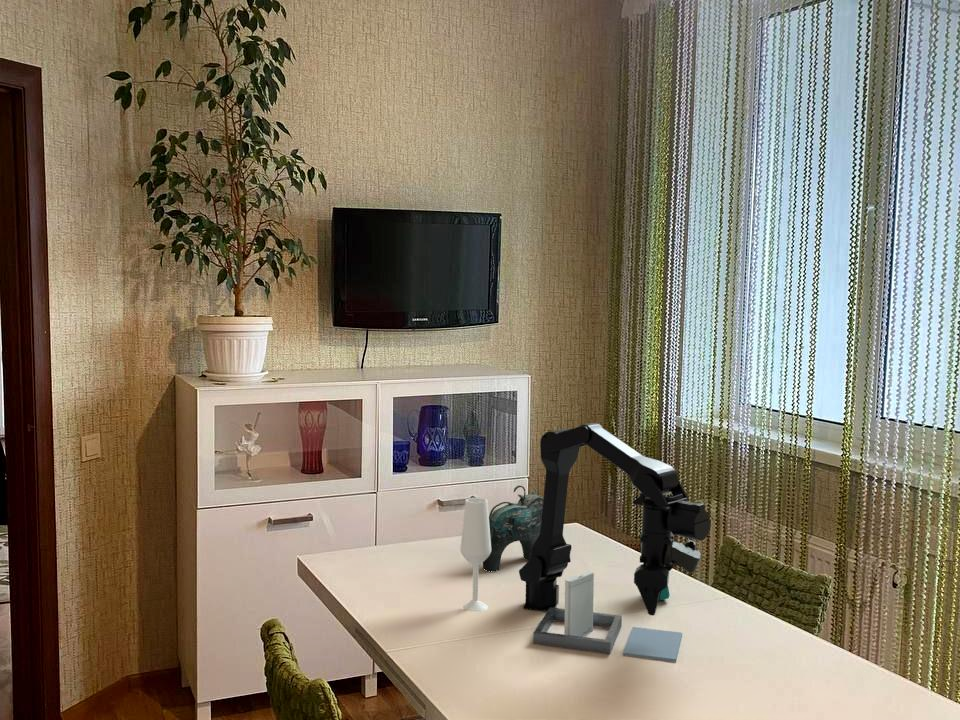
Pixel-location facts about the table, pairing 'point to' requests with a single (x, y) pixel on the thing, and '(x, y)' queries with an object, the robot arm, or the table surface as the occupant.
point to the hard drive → (579, 604)
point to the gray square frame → (576, 641)
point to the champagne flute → (476, 543)
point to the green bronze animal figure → (514, 527)
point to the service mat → (653, 644)
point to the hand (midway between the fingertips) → (654, 607)
